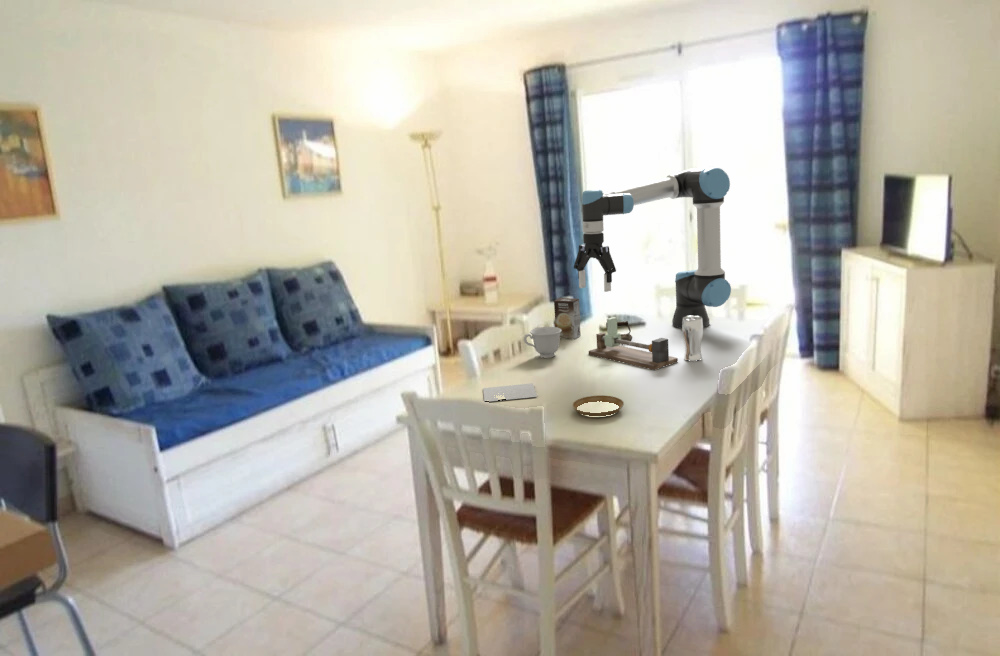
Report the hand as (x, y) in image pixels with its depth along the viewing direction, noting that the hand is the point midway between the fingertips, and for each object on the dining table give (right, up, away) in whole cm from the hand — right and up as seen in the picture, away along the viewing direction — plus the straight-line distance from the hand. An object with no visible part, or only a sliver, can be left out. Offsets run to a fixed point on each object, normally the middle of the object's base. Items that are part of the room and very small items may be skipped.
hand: (594, 289), depth 257 cm
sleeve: (+7, -21, -2) cm, 22 cm away
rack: (+12, -25, -9) cm, 30 cm away
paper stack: (-29, -35, -31) cm, 54 cm away
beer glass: (+33, -26, -16) cm, 44 cm away
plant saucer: (-7, -39, -58) cm, 70 cm away
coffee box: (-7, -18, +29) cm, 35 cm away
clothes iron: (+12, -20, +18) cm, 29 cm away
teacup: (-19, -26, +3) cm, 32 cm away
